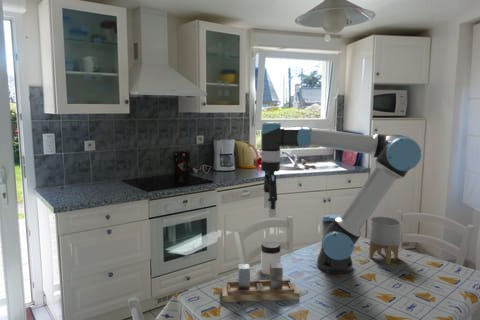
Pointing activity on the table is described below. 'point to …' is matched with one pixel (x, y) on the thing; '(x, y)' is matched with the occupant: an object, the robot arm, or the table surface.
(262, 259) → the jar
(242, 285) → the grey rectangular prism
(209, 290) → the table surface
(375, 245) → the planter
